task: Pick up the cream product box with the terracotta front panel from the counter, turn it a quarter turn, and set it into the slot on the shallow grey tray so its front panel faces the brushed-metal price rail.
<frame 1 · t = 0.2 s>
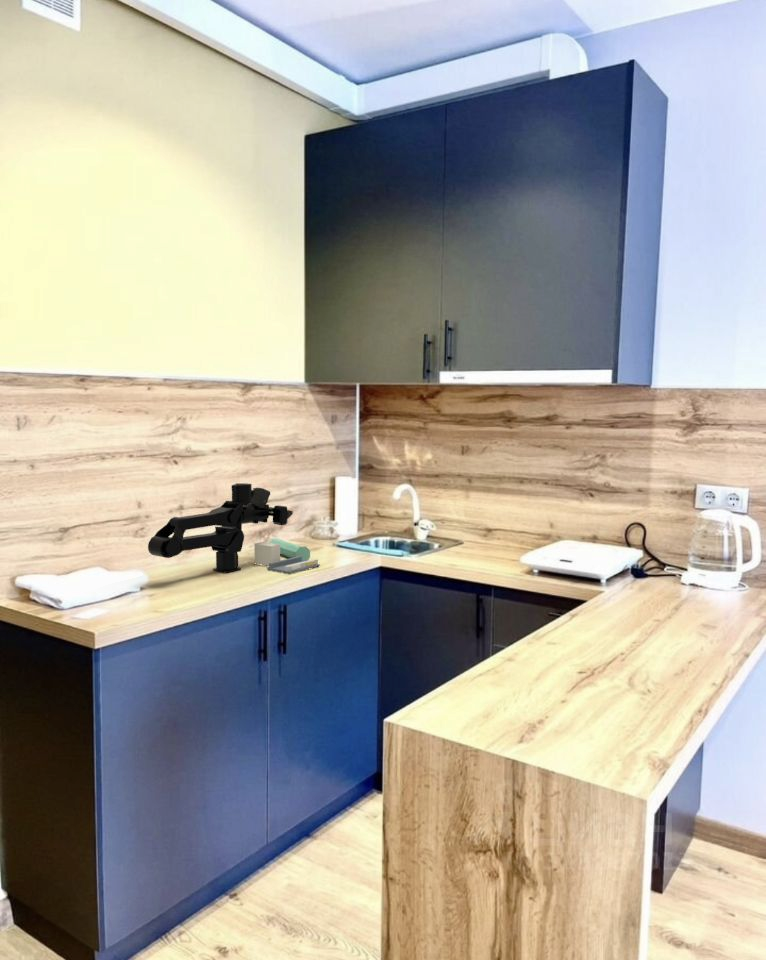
hand: (282, 510, 260), 16 cm above the countertop, tool horizontal, fingers open, 9 cm apart
shallow grey tray: (293, 568, 244), on the countertop
product box: (267, 564, 250), on the countertop
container: (287, 557, 264), on the countertop
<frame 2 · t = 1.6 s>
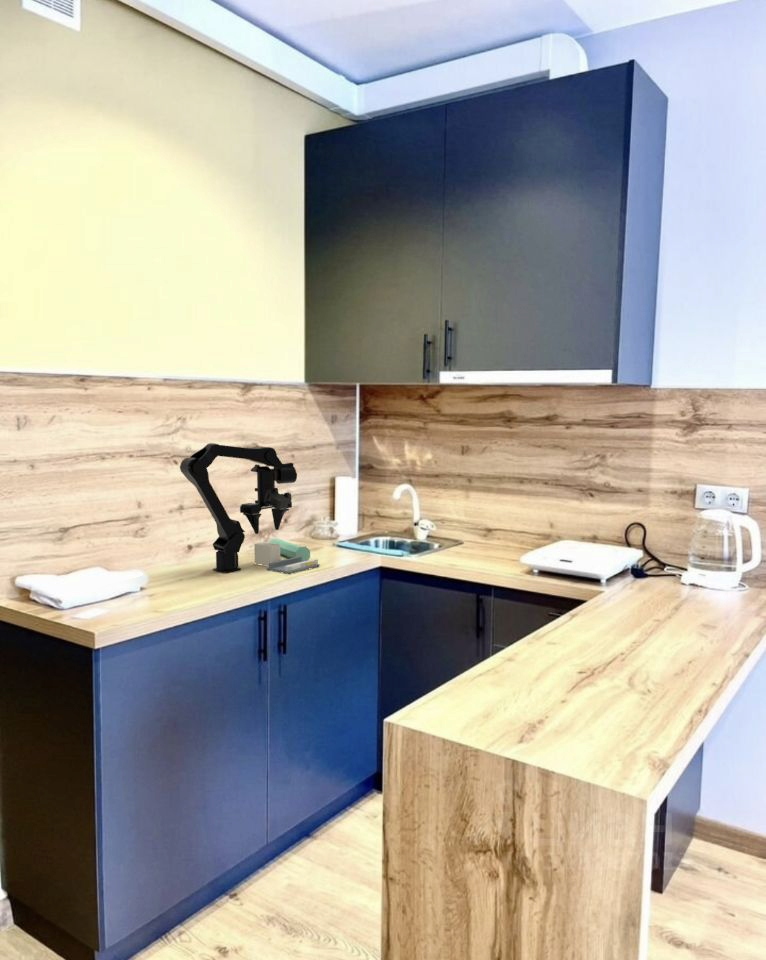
hand: (267, 531, 249), 11 cm above the countertop, tool pointing down, fingers open, 9 cm apart
nothing on the countertop moved.
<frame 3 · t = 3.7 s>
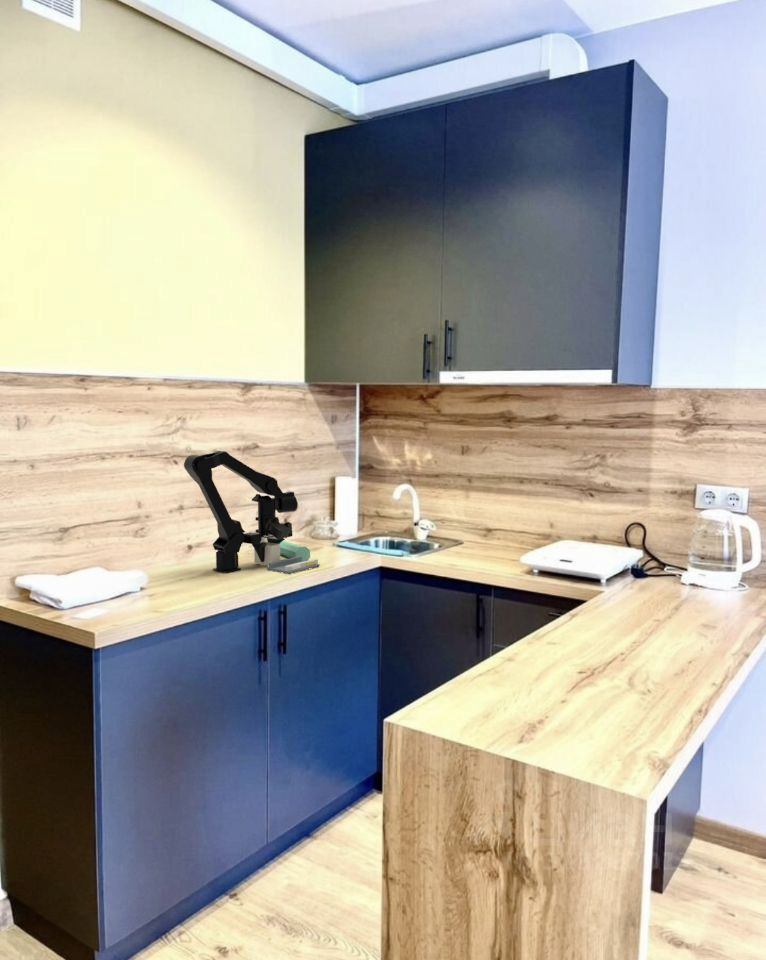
hand: (267, 560, 250), 1 cm above the countertop, tool pointing down, fingers closed on product box, 4 cm apart
product box: (267, 564, 250), on the countertop, touching gripper
everything else where it was.
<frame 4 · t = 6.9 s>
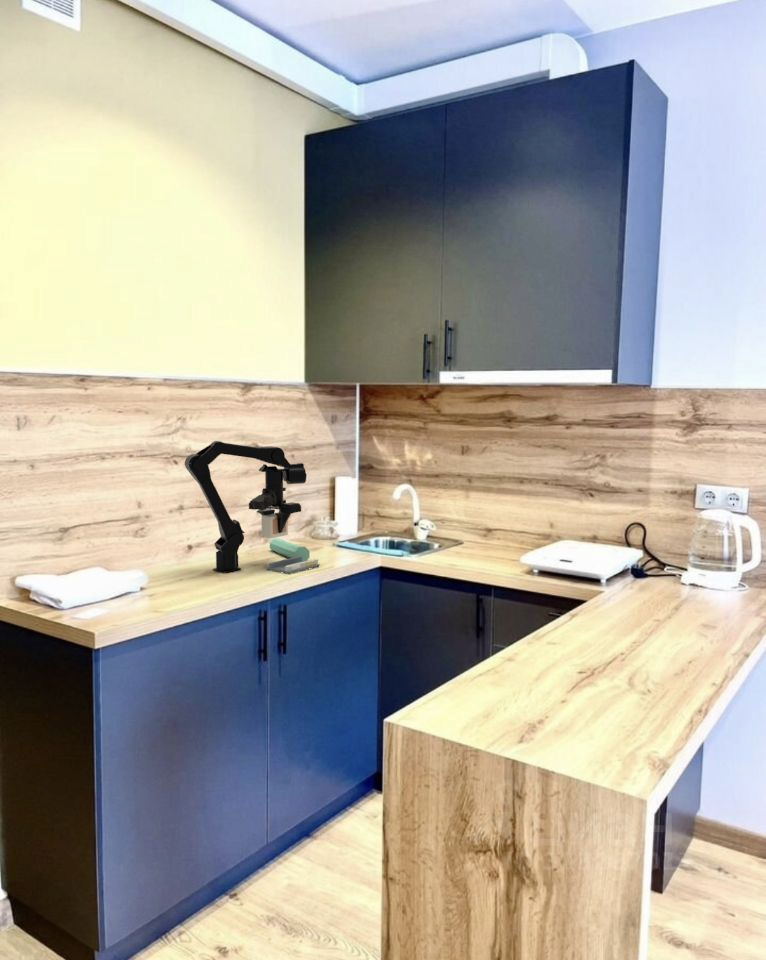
hand: (275, 532, 247), 11 cm above the countertop, tool pointing down, fingers closed on product box, 4 cm apart
product box: (274, 535, 247), point 10 cm above the countertop, touching gripper
everything else where it was.
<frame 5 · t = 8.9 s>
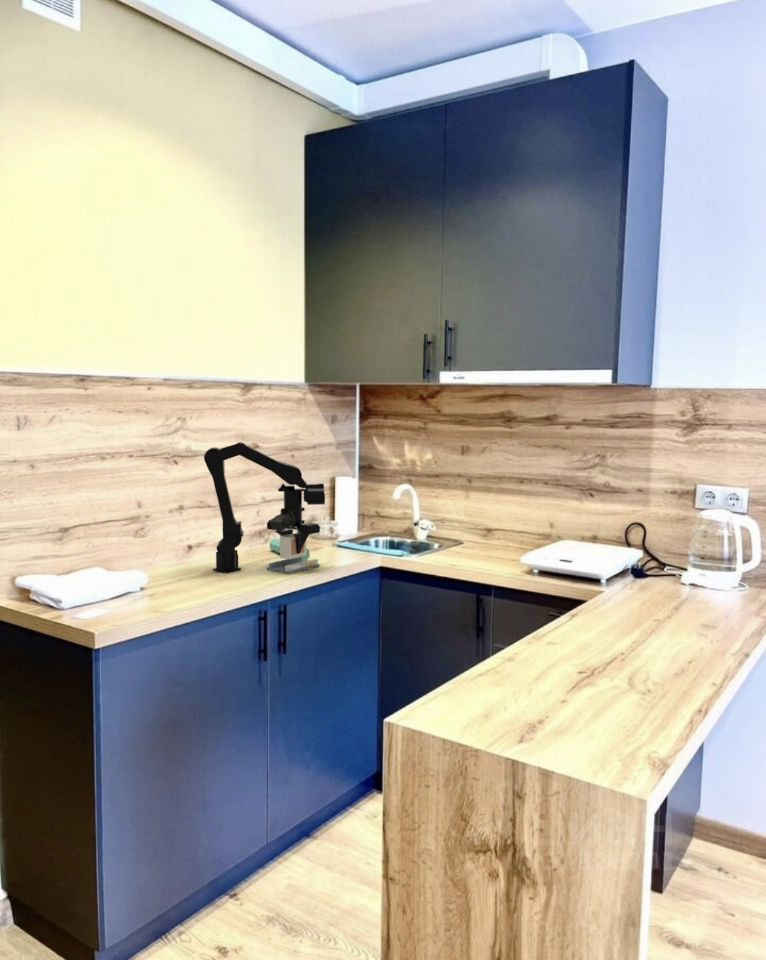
hand: (293, 552, 244), 5 cm above the countertop, tool pointing down, fingers closed on product box, 4 cm apart
product box: (293, 556, 244), point 4 cm above the countertop, touching gripper
everything else where it was.
when the fingers open (3 cm above the countertop, at t = 10.4 s): product box drops 1 cm, resting on shallow grey tray.
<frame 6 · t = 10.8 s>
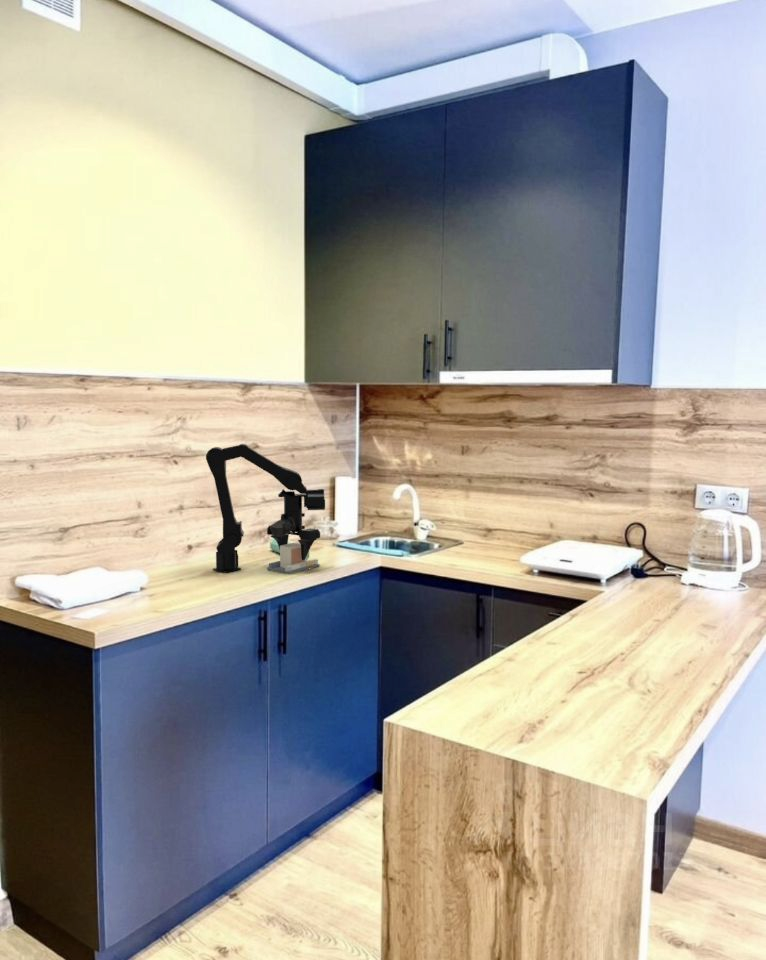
hand: (293, 558, 244), 3 cm above the countertop, tool pointing down, fingers open, 8 cm apart
product box: (293, 565, 244), point 1 cm above the countertop, touching shallow grey tray
everything else where it was.
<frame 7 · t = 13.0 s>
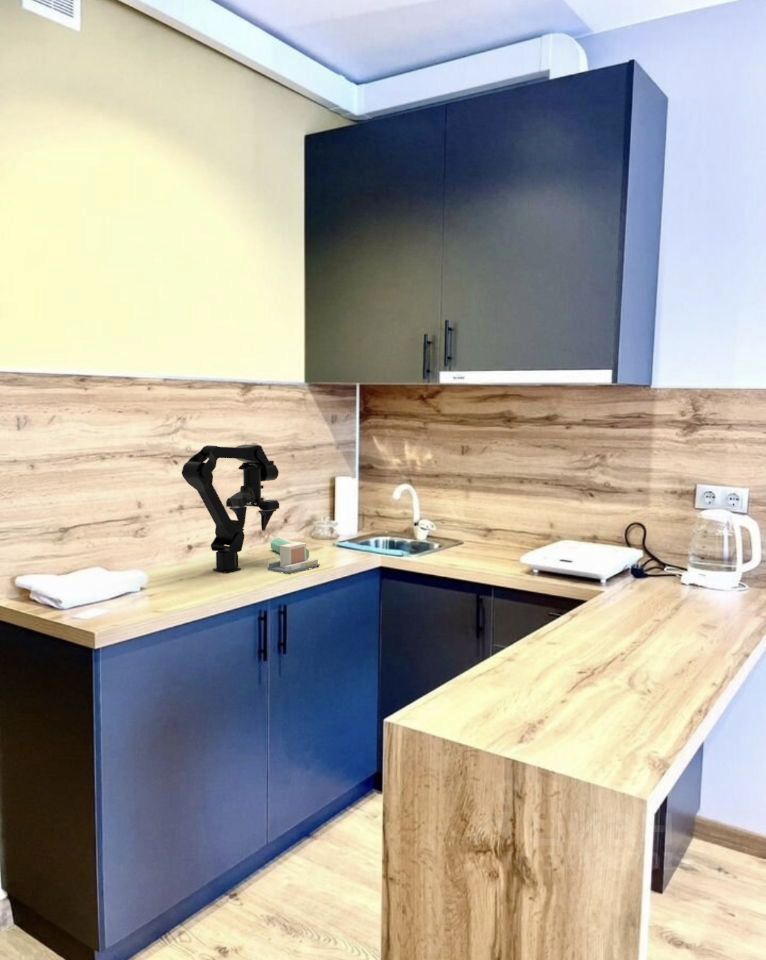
hand: (252, 529, 250), 12 cm above the countertop, tool pointing down, fingers open, 9 cm apart
nothing on the countertop moved.
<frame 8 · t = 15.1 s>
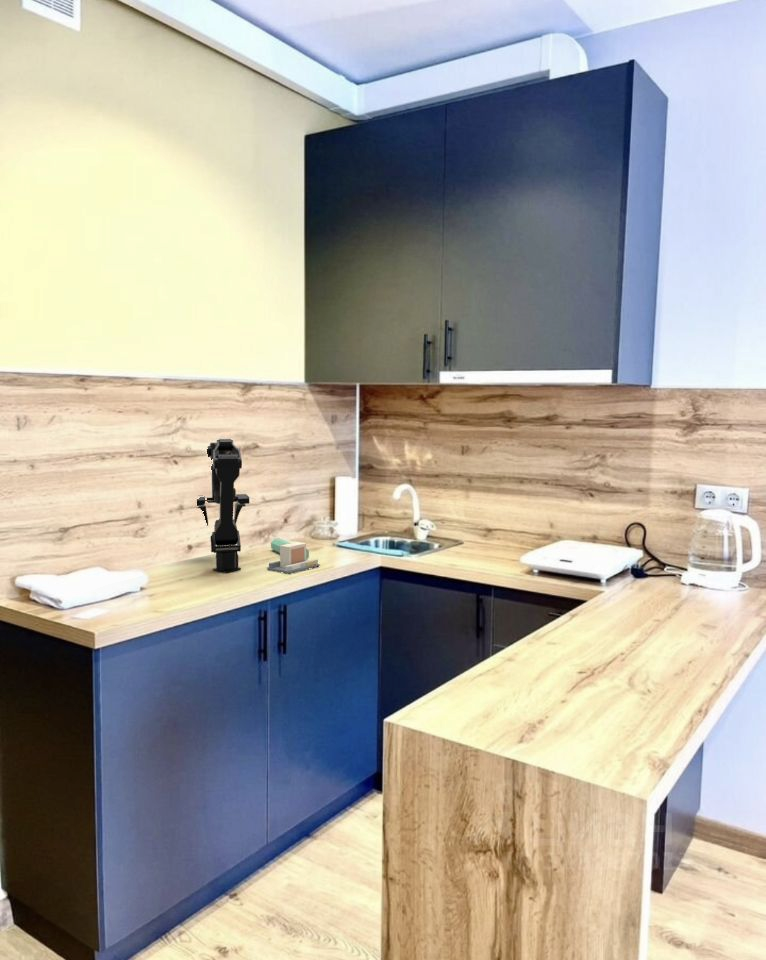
hand: (221, 525, 256), 12 cm above the countertop, tool pointing down, fingers open, 9 cm apart
nothing on the countertop moved.
at the end: product box 0.1 cm off-centre on the shallow grey tray, point 0.8 cm above the shallow grey tray's base; product box tilted 0°; the gripper is holding nothing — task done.
